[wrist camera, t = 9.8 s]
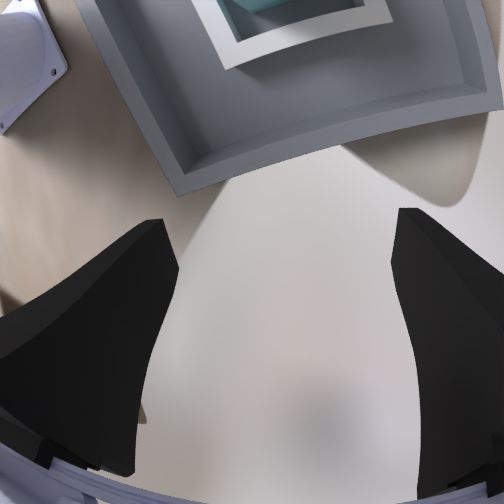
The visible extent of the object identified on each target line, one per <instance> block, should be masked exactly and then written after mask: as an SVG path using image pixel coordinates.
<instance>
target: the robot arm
mask: <svg viewBox="0 0 504 504" xmlns="http://www.w3.org/2000/svg"><path fill="white" fill-rule="evenodd" d="M67 68H68V65H67V62H66V60H65V58H64V56H63V54H62V52H61V50H60V48H59V45H58V43H57V41H56V39H55V37H54V35H53V33H52V31H51V28H50V26H49V24H48V22H47V19H46V17H45V15H44V13H43V10H42V8H41V6H40V4H39V1H38V0H13V1H12V2H11V3H10V4H9V6H8V7H7V8H6V9H5V10H4V12H3V13H2V14H0V136H1V135H2V134H3V133H4V132H5V131H6V130H7V129H8V128H9V126H10V125H11V124H12V123H13V122H14V121H15V120H16V119H17V118H18V117H19V116H20V115H21V114H22V113H23V112H24V111H25V110H26V109H27V108H28V107H29V106H30V105H31V104H32V103H33V102H34V101H35V100H36V99H37V98H38V97H39V96H40V95H41V94H42V93H43V92H44V91H45V90H46V89H47V88H48V87H50V86H51V85H52V84H53V83H54V82H55V81H56V80H57V79H59V78H60V77H61V76H62V75H63V74H64V73H65V72H66V71H67ZM55 69H56V71H57V73H56V74H55V72H54V71H55ZM3 124H4V125H3ZM391 266H392V271H393V277H394V282H395V287H396V292H397V295H398V299H399V302H400V305H401V308H402V312H403V315H404V319H405V322H406V325H407V329H408V333H409V336H410V340H411V344H412V347H413V351H414V356H415V361H416V367H417V376H418V385H419V395H420V396H419V397H420V414H421V450H420V465H419V476H418V484H417V500H415V501H410V502H404V503H399V504H504V274H503V273H501V272H500V271H498V270H497V269H496V268H494V267H493V266H492V265H490V264H489V263H488V262H487V261H485V260H484V259H483V258H482V257H480V256H479V255H478V254H476V253H475V252H474V251H472V250H471V249H470V248H469V247H468V246H466V245H465V244H464V243H462V242H461V241H460V240H459V239H458V238H456V237H455V236H454V235H453V234H452V233H450V232H449V231H448V230H447V229H445V228H444V227H443V226H442V225H441V224H439V223H438V222H437V221H435V220H434V219H433V218H431V217H430V216H429V215H427V214H426V213H425V212H423V211H422V210H420V209H419V208H399V212H398V219H397V227H396V233H395V240H394V246H393V252H392V258H391ZM178 272H179V266H178V263H177V260H176V257H175V255H174V252H173V249H172V246H171V243H170V240H169V237H168V234H167V231H166V228H165V224H164V221H163V219H152V220H145V221H143V222H142V223H140V224H138V225H137V226H135V227H134V228H132V229H131V230H130V231H128V232H127V233H125V234H124V235H123V236H121V237H120V238H119V239H117V240H116V241H115V242H113V243H112V244H111V245H110V246H108V247H107V248H106V249H104V250H103V251H102V252H101V253H99V254H98V255H97V256H95V257H94V258H93V259H91V260H90V261H89V262H87V263H86V264H85V265H83V266H82V267H81V268H79V269H78V270H77V271H75V272H74V273H73V274H71V275H70V276H69V277H67V278H66V279H64V280H63V281H62V282H60V283H59V284H57V285H56V286H54V287H53V288H51V289H50V290H48V291H47V292H45V293H43V294H42V295H40V296H38V297H37V298H35V299H33V300H32V301H30V302H28V303H26V304H25V305H23V306H21V307H20V308H18V309H16V310H14V311H12V312H10V313H8V314H6V315H5V316H2V317H0V504H98V502H97V500H96V499H95V498H97V499H100V500H102V501H105V502H108V503H110V504H206V503H201V502H195V501H190V500H185V499H180V498H175V497H171V496H167V495H162V494H158V493H154V492H151V491H147V490H143V489H140V488H136V487H133V486H130V485H126V484H123V483H120V482H117V481H114V480H111V479H108V478H105V477H102V476H100V475H96V474H94V473H92V472H89V471H87V467H88V468H91V469H93V470H96V471H99V470H100V469H101V470H104V471H107V472H110V473H113V474H116V475H119V476H122V477H129V476H130V475H132V474H133V473H135V448H136V434H137V424H138V416H139V409H140V403H141V396H142V391H143V386H144V381H145V376H146V372H147V367H148V363H149V360H150V357H151V353H152V350H153V347H154V345H155V342H156V339H157V336H158V334H159V331H160V328H161V325H162V323H163V321H164V318H165V315H166V313H167V310H168V307H169V305H170V302H171V299H172V297H173V293H174V289H175V285H176V281H177V277H178ZM94 497H95V498H94Z"/></svg>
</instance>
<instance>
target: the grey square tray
mask: <svg viewBox="0 0 504 504" xmlns="http://www.w3.org/2000/svg"><path fill="white" fill-rule="evenodd" d="M74 1H75V3H76V5H77V7H78V9H79V11H80V14H81V16H82V18H83V20H84V22H85V24H86V26H87V28H88V30H89V32H90V34H91V36H92V38H93V40H94V42H95V44H96V46H97V48H98V50H99V52H100V54H101V56H102V58H103V60H104V62H105V64H106V66H107V68H108V70H109V72H110V74H111V76H112V78H113V80H114V82H115V84H116V86H117V87H118V89H119V91H120V93H121V95H122V97H123V99H124V101H125V103H126V105H127V107H128V108H129V110H130V112H131V114H132V116H133V118H134V120H135V122H136V123H137V125H138V127H139V129H140V131H141V133H142V134H143V136H144V138H145V140H146V142H147V144H148V145H149V147H150V149H151V151H152V153H153V155H154V156H155V158H156V160H157V162H158V164H159V165H160V167H161V169H162V171H163V173H164V174H165V176H166V178H167V180H168V181H169V183H170V185H171V187H172V189H173V190H174V192H175V194H176V196H177V197H180V196H182V195H185V194H188V193H190V192H193V191H196V190H198V189H201V188H204V187H207V186H210V185H212V184H215V183H218V182H221V181H224V180H227V179H229V178H232V177H235V176H238V175H241V174H244V173H247V172H250V171H253V170H256V169H259V168H262V167H265V166H268V165H271V164H275V163H278V162H281V161H284V160H287V159H291V158H294V157H298V156H301V155H304V154H308V153H311V152H314V151H318V150H322V149H325V148H328V147H332V146H336V145H339V144H343V143H347V142H351V141H354V140H358V139H362V138H366V137H370V136H374V135H378V134H382V133H386V132H390V131H395V130H399V129H403V128H408V127H412V126H417V125H421V124H426V123H431V122H435V121H440V120H445V119H451V118H456V117H461V116H467V115H472V114H478V113H484V112H490V111H496V110H503V109H504V106H503V98H502V90H501V83H500V77H499V71H498V66H497V61H496V56H495V51H494V47H493V43H492V38H491V34H490V31H489V27H488V23H487V20H486V16H485V13H484V10H483V6H482V3H481V0H292V1H289V2H285V3H282V4H279V5H276V6H273V7H270V8H267V9H264V10H261V11H258V12H255V13H253V14H252V13H251V12H249V11H248V10H246V9H245V8H243V7H242V6H240V5H239V4H237V3H236V2H234V1H233V0H74Z"/></svg>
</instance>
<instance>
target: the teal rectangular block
mask: <svg viewBox="0 0 504 504" xmlns="http://www.w3.org/2000/svg"><path fill="white" fill-rule="evenodd" d="M233 1H234V2H236V3H237V4H239V5H240V6H242V7H243V8H245V9H246V10H248V11H249V12H251V13H252V14H253V13H255V12H258V11H261V10H264V9H267V8H270V7H273V6H276V5H279V4H282V3H285V2H289V1H292V0H233Z"/></svg>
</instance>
